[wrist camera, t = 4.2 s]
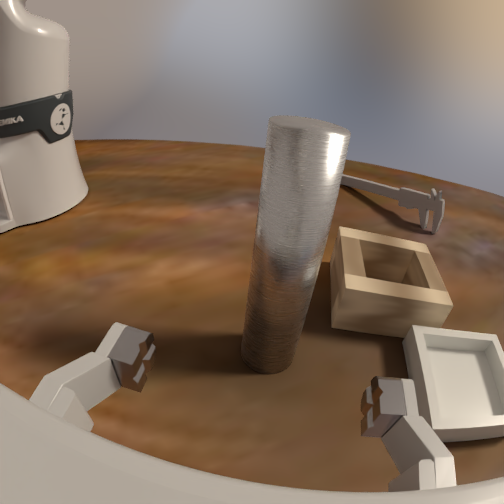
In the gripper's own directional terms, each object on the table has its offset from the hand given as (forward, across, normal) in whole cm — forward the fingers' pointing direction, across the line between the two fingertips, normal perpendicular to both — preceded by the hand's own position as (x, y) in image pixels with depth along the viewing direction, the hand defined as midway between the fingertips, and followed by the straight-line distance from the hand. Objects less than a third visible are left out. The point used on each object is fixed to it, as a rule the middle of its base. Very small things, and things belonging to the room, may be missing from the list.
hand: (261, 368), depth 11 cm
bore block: (+15, -9, +8) cm, 20 cm away
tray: (+6, -15, +8) cm, 18 cm away
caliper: (+38, -13, +9) cm, 41 cm away
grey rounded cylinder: (+7, 0, +8) cm, 11 cm away
